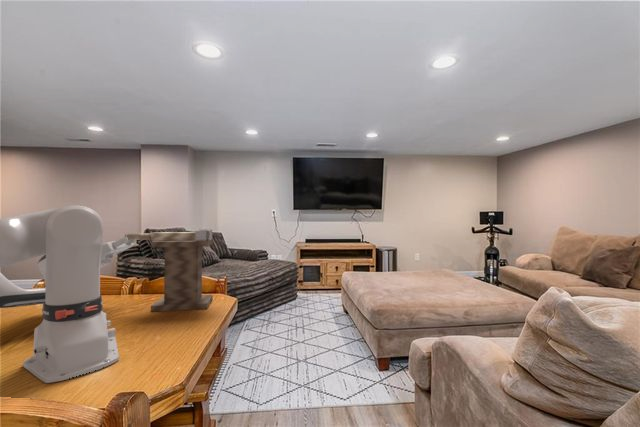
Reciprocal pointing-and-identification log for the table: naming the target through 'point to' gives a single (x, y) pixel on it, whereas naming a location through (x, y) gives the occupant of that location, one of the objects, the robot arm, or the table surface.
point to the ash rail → (162, 236)
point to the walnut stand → (182, 276)
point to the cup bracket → (203, 235)
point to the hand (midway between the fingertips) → (133, 237)
